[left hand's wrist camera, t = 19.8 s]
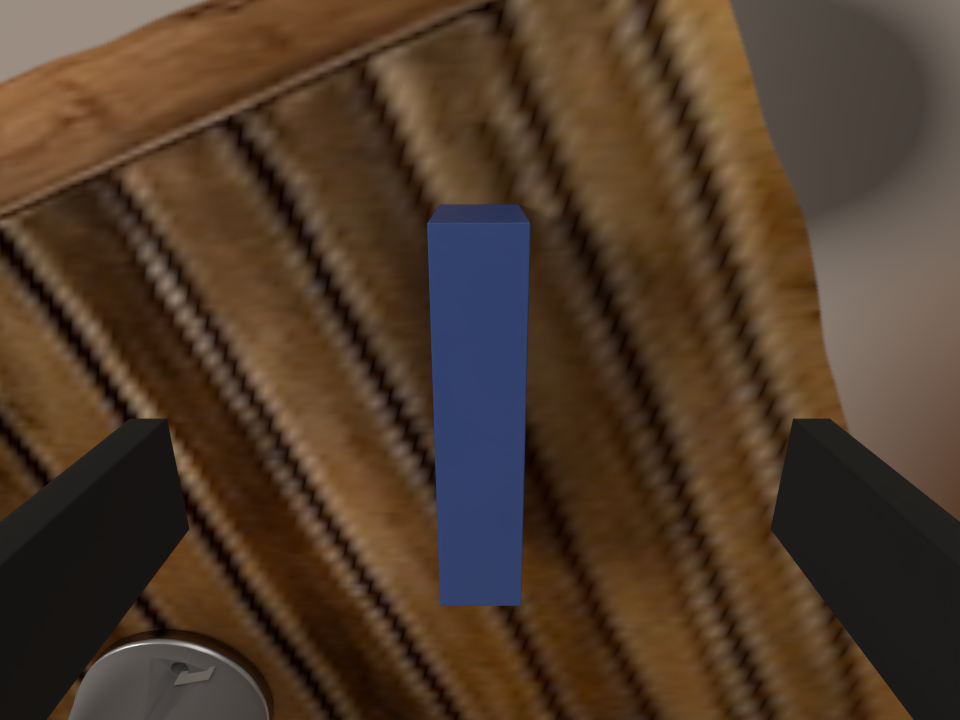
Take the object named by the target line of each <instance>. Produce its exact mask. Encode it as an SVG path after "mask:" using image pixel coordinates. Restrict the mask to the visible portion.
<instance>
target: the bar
mask: <svg viewBox="0 0 960 720" xmlns="http://www.w3.org/2000/svg"><path fill="white" fill-rule="evenodd" d="M530 225H531V224H530V222H529V220H528V218H527V217H526V215H525V214H524V212H523V210H522V209H521V207H520V206H519V204H486V205H439V206H438V208H437V210H436V211H435V213H434V214H433V216H432V217H431V219H430V220H429V222H428V224H427V230H428V259H429V289H430V318H431V347H432V377H433V406H434V436H435V465H436V495H437V524H438V553H439V583H440V605H441V606H512V605H521V585H522V545H523V505H524V465H525V425H526V385H527V345H528V305H529V265H530Z"/></svg>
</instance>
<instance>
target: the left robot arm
mask: <svg viewBox="0 0 960 720" xmlns="http://www.w3.org/2000/svg"><path fill="white" fill-rule="evenodd" d="M188 530H189V526H188V521H187V516H186V511H185V506H184V501H183V496H182V491H181V486H180V481H179V476H178V471H177V466H176V461H175V456H174V451H173V446H172V441H171V437H170V432H169V427H168V422H167V419H129V420H128V421H127V422H126V423H124V424H123V425H122V426H121V427H119V428H118V429H117V430H116V431H114V432H113V433H112V434H110V435H109V436H108V437H107V438H105V439H104V440H103V441H102V442H100V443H99V444H98V445H97V446H95V447H94V448H93V449H92V450H90V451H89V452H88V453H87V454H85V455H84V456H83V457H81V458H80V459H79V460H78V461H76V462H75V463H74V464H73V465H71V466H70V467H69V468H68V469H66V470H65V471H64V472H63V473H61V474H60V475H59V476H58V477H56V478H55V479H54V480H52V481H51V482H50V483H49V484H47V485H46V486H45V487H44V488H42V489H41V490H40V491H39V492H37V493H36V494H35V495H34V496H32V497H31V498H30V499H28V500H27V501H26V502H25V503H23V504H22V505H21V506H20V507H18V508H17V509H16V510H15V511H13V512H12V513H11V514H10V515H8V516H7V517H6V518H5V519H3V520H2V521H1V522H0V720H46V719H47V718H48V717H49V715H50V714H51V713H52V711H53V710H54V709H55V707H56V706H57V705H58V703H59V702H60V701H61V699H62V698H63V697H64V695H65V694H66V693H67V691H68V690H69V689H70V687H71V686H72V685H73V683H74V682H75V681H76V679H77V678H78V677H79V675H80V674H81V673H82V671H83V670H84V669H85V667H86V666H87V665H88V663H89V662H90V661H91V659H92V658H93V657H94V655H95V654H96V653H97V651H98V650H99V649H100V647H101V646H102V645H103V643H104V642H105V641H106V639H107V638H108V637H109V635H110V634H111V633H112V631H113V630H114V629H115V627H116V626H117V625H118V623H119V622H120V621H121V619H122V618H123V617H124V615H125V614H126V613H127V611H128V610H129V609H130V607H131V606H132V605H133V603H134V602H135V601H136V599H137V598H138V597H139V595H140V594H141V593H142V591H143V590H144V589H145V587H146V586H147V585H148V583H149V582H150V581H151V579H152V578H153V577H154V575H155V574H156V573H157V571H158V570H159V569H160V567H161V566H162V565H163V563H164V562H165V561H166V559H167V558H168V557H169V555H170V554H171V553H172V551H173V550H174V549H175V547H176V546H177V545H178V543H179V542H180V541H181V539H182V538H183V537H184V535H185V534H186V533H187V531H188ZM771 530H772V531H773V533H774V534H775V535H776V537H777V538H778V539H779V541H780V542H781V543H782V545H783V546H784V547H785V549H786V550H787V551H788V553H789V554H790V555H791V557H792V558H793V559H794V561H795V562H796V563H797V565H798V566H799V567H800V569H801V570H802V571H803V573H804V574H805V575H806V577H807V578H808V579H809V581H810V582H811V583H812V585H813V586H814V587H815V589H816V590H817V591H818V593H819V594H820V595H821V597H822V598H823V599H824V601H825V602H826V603H827V605H828V606H829V607H830V609H831V610H832V611H833V613H834V614H835V615H836V617H837V618H838V619H839V621H840V622H841V623H842V625H843V626H844V627H845V629H846V630H847V631H848V633H849V634H850V635H851V637H852V638H853V639H854V641H855V642H856V643H857V645H858V646H859V647H860V649H861V650H862V651H863V653H864V654H865V655H866V657H867V658H868V659H869V661H870V662H871V663H872V665H873V666H874V667H875V669H876V670H877V671H878V673H879V674H880V675H881V677H882V678H883V679H884V681H885V682H886V683H887V685H888V686H889V687H890V689H891V690H892V691H893V693H894V694H895V695H896V697H897V698H898V699H899V701H900V702H901V703H902V705H903V706H904V707H905V709H906V710H907V711H908V713H909V714H910V715H911V717H912V718H913V719H914V720H960V522H959V521H958V520H957V519H955V518H954V517H953V516H952V515H950V514H949V513H948V512H947V511H945V510H944V509H943V508H942V507H940V506H939V505H938V504H937V503H935V502H934V501H933V500H931V499H930V498H929V497H928V496H926V495H925V494H924V493H923V492H921V491H920V490H919V489H918V488H916V487H915V486H914V485H913V484H911V483H910V482H909V481H907V480H906V479H905V478H904V477H902V476H901V475H900V474H899V473H897V472H896V471H895V470H894V469H892V468H891V467H890V466H889V465H887V464H886V463H885V462H884V461H882V460H881V459H880V458H879V457H877V456H876V455H875V454H873V453H872V452H871V451H870V450H868V449H867V448H866V447H865V446H863V445H862V444H861V443H860V442H858V441H857V440H856V439H855V438H853V437H852V436H851V435H850V434H848V433H847V432H846V431H844V430H843V429H842V428H841V427H839V426H838V425H837V424H836V423H834V422H833V421H832V420H831V419H793V422H792V427H791V432H790V437H789V441H788V446H787V451H786V456H785V461H784V466H783V471H782V476H781V481H780V486H779V491H778V496H777V501H776V506H775V511H774V516H773V521H772V526H771ZM272 716H273V702H272V697H271V693H270V690H269V688H268V686H267V684H266V682H265V680H264V678H263V677H262V675H261V674H260V673H259V671H258V670H257V669H256V668H255V667H254V666H253V665H252V664H251V663H250V662H249V661H248V660H247V659H246V658H245V657H243V656H242V655H241V654H239V653H238V652H236V651H235V650H233V649H232V648H230V647H228V646H226V645H224V644H222V643H220V642H218V641H216V640H213V639H211V638H208V637H205V636H202V635H198V634H194V633H189V632H183V631H173V630H156V631H148V632H142V633H138V634H134V635H131V636H128V637H125V638H123V639H121V640H119V641H117V642H116V643H114V644H112V645H111V646H110V647H108V648H107V649H106V650H105V651H104V652H103V653H102V654H101V655H100V656H99V657H98V659H97V660H96V661H95V663H94V664H93V665H92V667H91V668H90V670H89V671H88V672H87V674H86V675H85V677H84V679H83V681H82V683H81V685H80V687H79V689H78V691H77V693H76V696H75V699H74V705H73V708H72V710H71V713H70V716H69V718H68V720H272Z"/></svg>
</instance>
